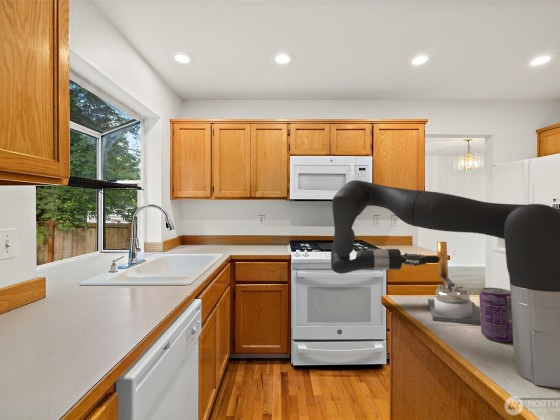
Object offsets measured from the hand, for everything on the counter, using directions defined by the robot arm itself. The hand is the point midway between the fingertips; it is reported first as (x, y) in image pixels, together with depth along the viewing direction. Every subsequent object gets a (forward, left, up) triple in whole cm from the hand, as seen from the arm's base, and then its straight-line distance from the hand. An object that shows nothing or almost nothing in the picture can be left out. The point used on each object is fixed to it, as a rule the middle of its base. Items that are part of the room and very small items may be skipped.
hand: (437, 259), depth 104 cm
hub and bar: (-8, -2, -10) cm, 13 cm away
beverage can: (-27, -10, -16) cm, 33 cm away
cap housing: (-8, -3, -16) cm, 18 cm away
